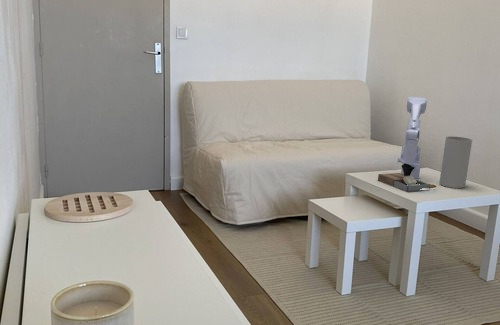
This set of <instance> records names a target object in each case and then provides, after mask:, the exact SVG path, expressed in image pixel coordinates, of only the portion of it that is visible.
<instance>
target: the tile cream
mask: <svg viewBox="0 0 500 325" xmlns="http://www.w3.org/2000/svg"><path fill="white" fill-rule="evenodd" d="M403 180H404V181H405V183H406V184H407V185H408V184H415V183H417V181H416V180H417V179H416V180H415V179H414V177H413V176H405V177H404V178H403Z"/></svg>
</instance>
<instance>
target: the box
mask: <svg viewBox="0 0 500 325" xmlns="http://www.w3.org/2000/svg"><path fill="white" fill-rule="evenodd" d="M415 180H416V181H417V184H420V185H412V186H407V185H405V184H402V183H399V182H397V181H394V187H393V188H396V189H397V190H398V189H399V190H402V191H403V192H406V193H411V192H412V193H414V192H420V191H419V190H420V189H422V188H430V187H431V184H430V183H427V182H424V181H421V180H418V179H415ZM430 189H431V188H430Z"/></svg>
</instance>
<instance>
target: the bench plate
mask: <svg viewBox="0 0 500 325" xmlns="http://www.w3.org/2000/svg"><path fill="white" fill-rule="evenodd" d="M377 175H378V177H377V181H378V182H380V183H383V184H386V185H387V186H391V187H393V188H395V187H394V181H397V182H399V183H402V184H406V183H405V181H404V180H403V178H404V174H401V172H391V173H389V172H388V173H378V174H377ZM414 179H415V178H414Z"/></svg>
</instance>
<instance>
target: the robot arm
mask: <svg viewBox="0 0 500 325" xmlns="http://www.w3.org/2000/svg"><path fill="white" fill-rule="evenodd" d="M427 104H428V98H427V97H419V96H418V97H417V96H408V97H407V102H406V111H407V113H408V114H410V118H409V119H408V122H407V129H406V130H405V135H404V136H405V140H404V141H405V142H404V145H402V148H401V152H400V157H398V158H397V163H402V164H401V171H400V173H401V174H404V177H405V176H413V177H414V178H415V179H416V180H418V179H421V177H420V172H421V166H422V164H420V156H421V147H420V146H419V145H418V144H419V143H418V142H419V140H420V134H421V126H420V125H421V120H420V117H421V115H422V114H425V112H426V110H427Z"/></svg>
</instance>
